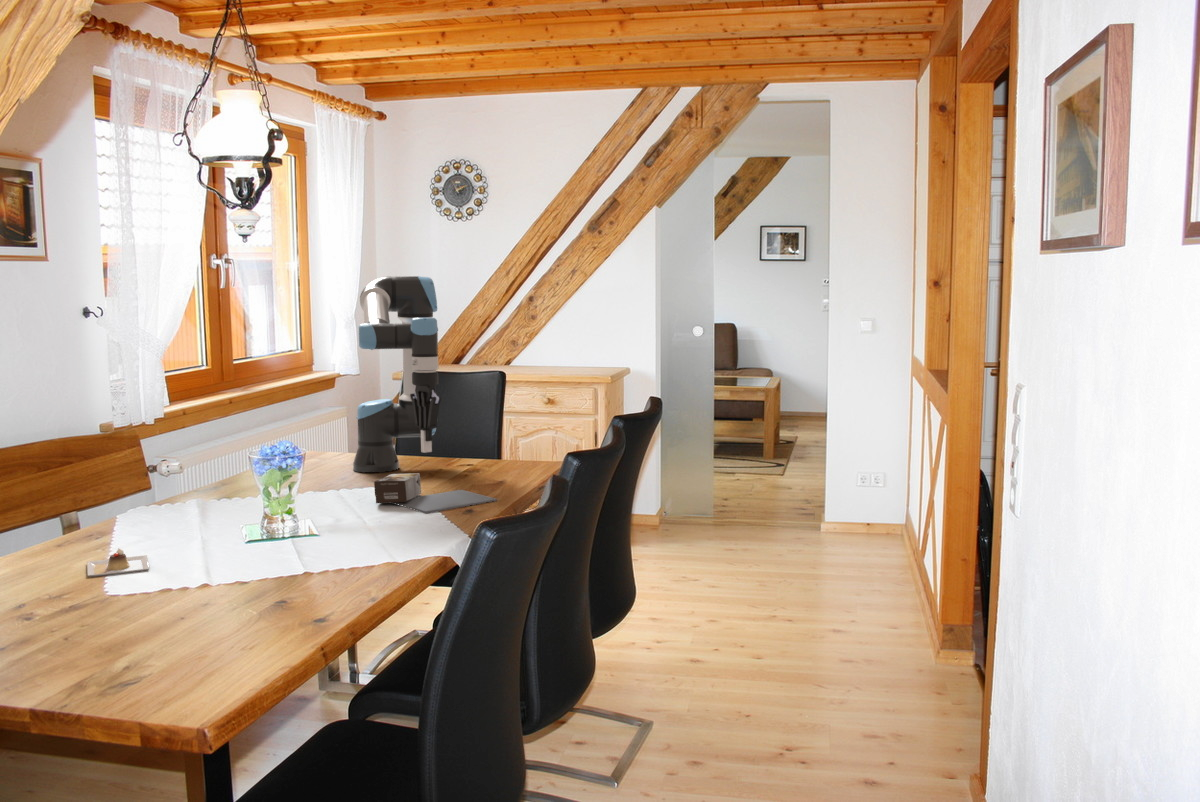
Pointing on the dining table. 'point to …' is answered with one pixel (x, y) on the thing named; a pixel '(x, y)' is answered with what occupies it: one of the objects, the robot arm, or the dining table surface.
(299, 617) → the dining table surface
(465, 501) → the mat
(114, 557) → the dessert
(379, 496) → the coffee box
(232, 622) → the dining table surface
